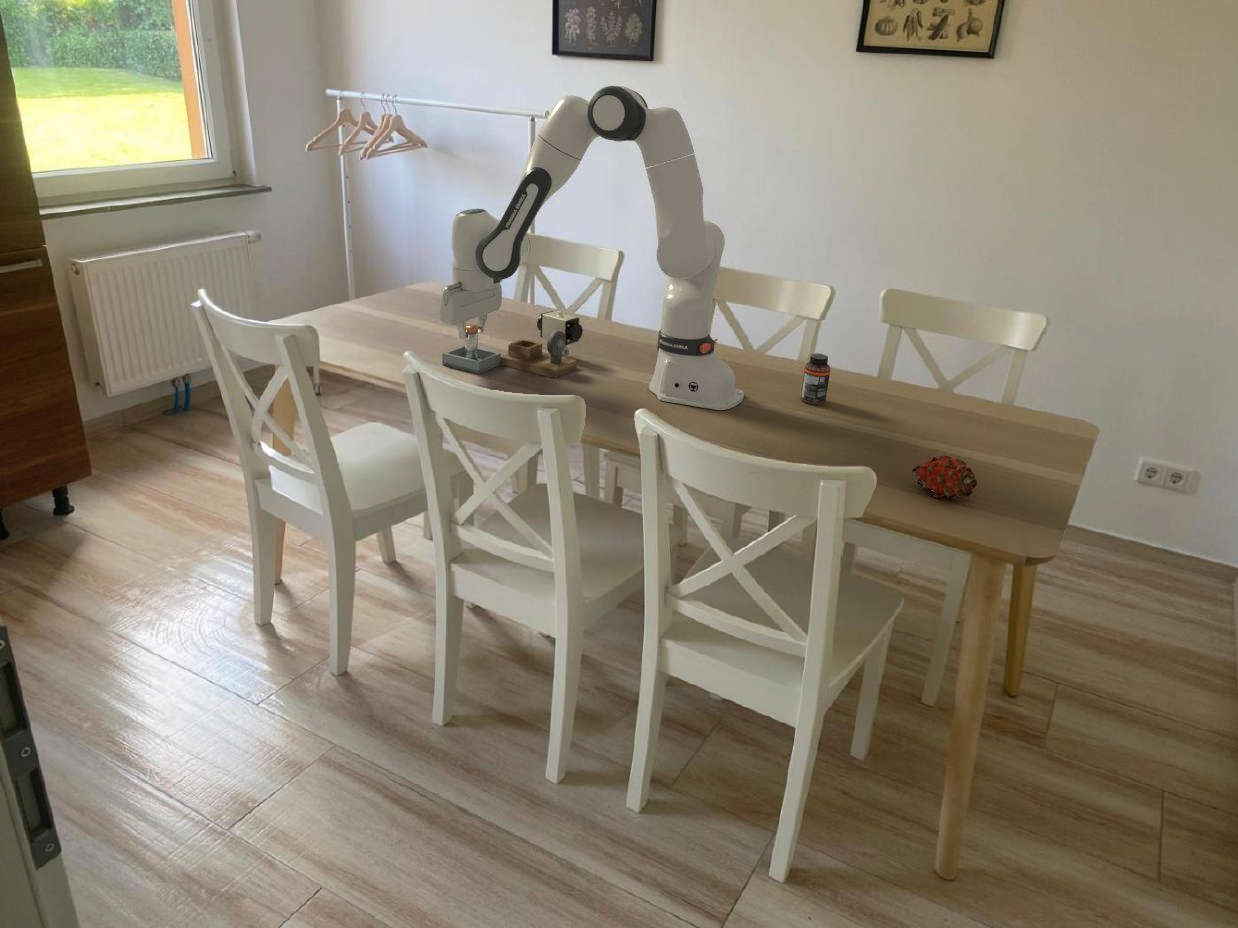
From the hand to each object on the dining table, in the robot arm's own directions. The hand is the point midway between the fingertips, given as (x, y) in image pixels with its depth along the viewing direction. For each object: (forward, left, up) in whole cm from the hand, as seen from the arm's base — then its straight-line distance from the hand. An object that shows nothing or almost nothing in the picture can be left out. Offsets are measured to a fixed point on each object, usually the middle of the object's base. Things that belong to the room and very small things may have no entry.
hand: (471, 335), depth 220 cm
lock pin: (0, 0, -7) cm, 7 cm away
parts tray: (0, 0, -8) cm, 8 cm away
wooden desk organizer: (-13, -9, -8) cm, 18 cm away
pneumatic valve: (-13, -19, -8) cm, 25 cm away
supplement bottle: (-78, -28, -8) cm, 84 cm away
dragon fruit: (-114, +7, -8) cm, 115 cm away
